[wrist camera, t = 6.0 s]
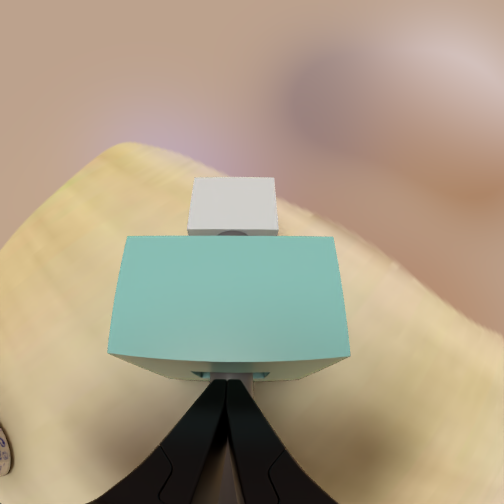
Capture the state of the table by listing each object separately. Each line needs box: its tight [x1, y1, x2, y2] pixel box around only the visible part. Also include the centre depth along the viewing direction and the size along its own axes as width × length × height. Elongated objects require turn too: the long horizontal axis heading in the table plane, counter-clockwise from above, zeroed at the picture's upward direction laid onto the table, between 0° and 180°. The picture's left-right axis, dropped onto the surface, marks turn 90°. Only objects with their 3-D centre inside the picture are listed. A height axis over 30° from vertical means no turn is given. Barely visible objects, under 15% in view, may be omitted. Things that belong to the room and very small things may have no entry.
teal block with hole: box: [107, 236, 350, 381], centre depth 12 cm, size 4×7×8 cm, turn 91°
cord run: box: [187, 177, 279, 504], centre depth 13 cm, size 20×7×7 cm, turn 1°
